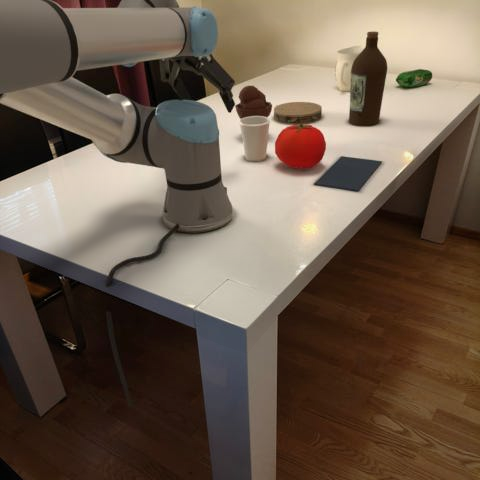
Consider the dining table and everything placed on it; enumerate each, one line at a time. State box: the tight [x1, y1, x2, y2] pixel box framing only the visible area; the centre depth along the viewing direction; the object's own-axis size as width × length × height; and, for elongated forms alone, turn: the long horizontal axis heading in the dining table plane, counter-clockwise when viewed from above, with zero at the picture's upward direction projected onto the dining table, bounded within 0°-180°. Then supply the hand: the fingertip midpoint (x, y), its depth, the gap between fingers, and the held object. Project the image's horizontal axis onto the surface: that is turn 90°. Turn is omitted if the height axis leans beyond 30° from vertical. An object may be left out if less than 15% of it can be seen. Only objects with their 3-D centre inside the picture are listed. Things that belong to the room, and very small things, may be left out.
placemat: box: [313, 155, 383, 192], centre depth 123 cm, size 20×11×1 cm, turn 152°
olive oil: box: [348, 30, 388, 127], centre depth 148 cm, size 11×11×25 cm
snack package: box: [395, 68, 433, 88], centre depth 188 cm, size 7×16×5 cm, turn 120°
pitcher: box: [334, 45, 364, 93], centre depth 185 cm, size 11×18×14 cm, turn 151°
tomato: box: [274, 124, 327, 170], centre depth 125 cm, size 13×12×11 cm
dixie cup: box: [238, 116, 271, 162], centre depth 132 cm, size 8×8×10 cm
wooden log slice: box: [273, 101, 323, 126], centre depth 163 cm, size 16×16×3 cm
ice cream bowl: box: [234, 85, 273, 120], centre depth 144 cm, size 11×11×15 cm
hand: (209, 104), depth 123 cm, fingers open, 13 cm apart
